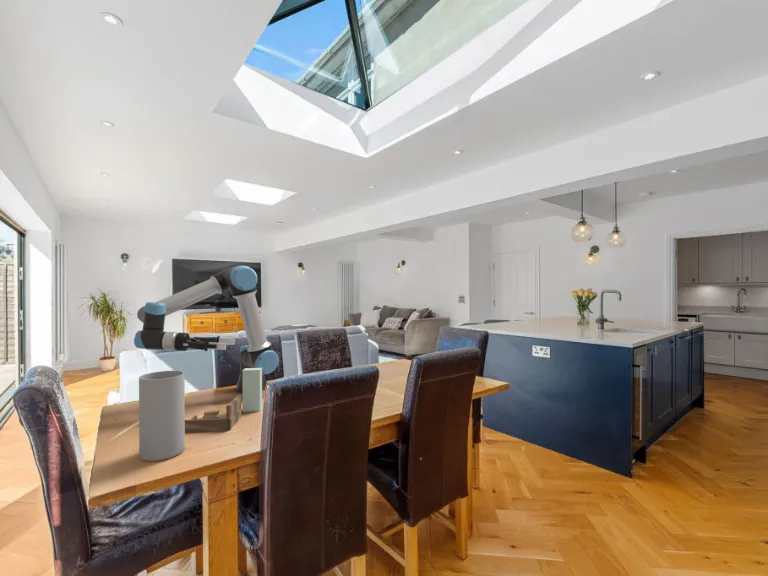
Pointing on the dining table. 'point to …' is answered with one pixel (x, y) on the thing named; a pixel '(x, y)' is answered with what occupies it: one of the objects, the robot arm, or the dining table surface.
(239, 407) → the tray
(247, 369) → the pale green block
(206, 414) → the pine offcut
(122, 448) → the dining table surface
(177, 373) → the cylinder vase
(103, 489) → the dining table surface
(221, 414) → the ply offcut
